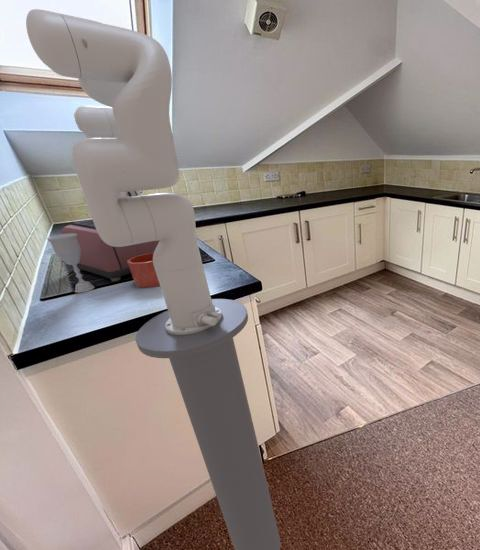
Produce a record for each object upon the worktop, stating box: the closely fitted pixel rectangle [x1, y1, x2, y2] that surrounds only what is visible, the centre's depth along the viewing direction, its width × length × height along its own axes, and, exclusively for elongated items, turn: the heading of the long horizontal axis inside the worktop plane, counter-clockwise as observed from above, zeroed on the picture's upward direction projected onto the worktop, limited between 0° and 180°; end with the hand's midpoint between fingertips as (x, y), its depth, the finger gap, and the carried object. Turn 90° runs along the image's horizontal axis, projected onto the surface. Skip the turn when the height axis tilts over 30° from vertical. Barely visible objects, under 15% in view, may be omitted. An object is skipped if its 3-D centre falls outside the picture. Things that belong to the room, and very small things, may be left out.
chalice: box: [46, 233, 96, 294], centre depth 95 cm, size 7×7×18 cm
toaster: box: [60, 219, 160, 283], centre depth 120 cm, size 31×36×18 cm
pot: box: [127, 253, 160, 288], centre depth 102 cm, size 12×12×8 cm
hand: (131, 220), depth 94 cm, fingers closed on lid, 2 cm apart
